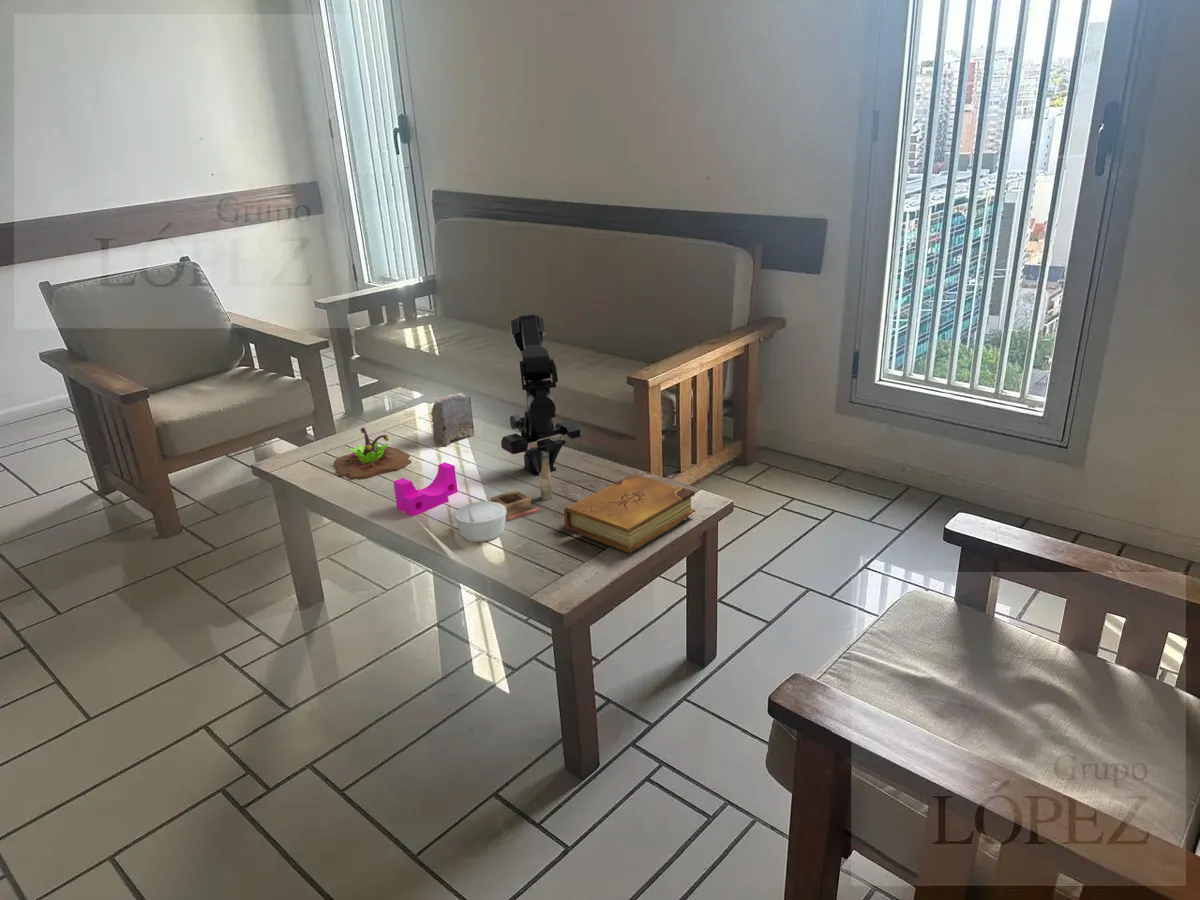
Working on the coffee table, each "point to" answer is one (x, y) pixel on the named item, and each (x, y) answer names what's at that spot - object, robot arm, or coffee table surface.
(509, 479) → the coffee table surface
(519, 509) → the wooden square frame
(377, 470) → the plant
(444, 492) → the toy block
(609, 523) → the diary
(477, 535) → the ramekin
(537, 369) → the robot arm
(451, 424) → the geological specimen
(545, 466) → the dowel
